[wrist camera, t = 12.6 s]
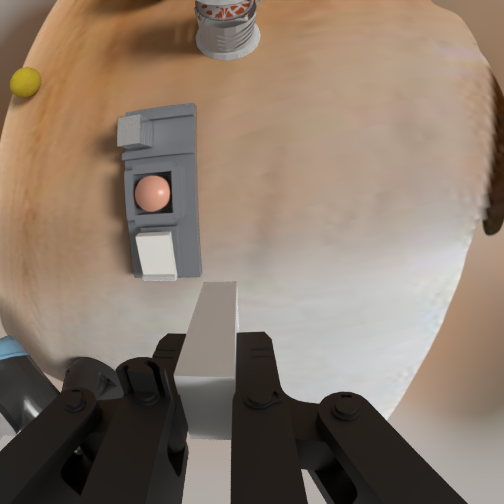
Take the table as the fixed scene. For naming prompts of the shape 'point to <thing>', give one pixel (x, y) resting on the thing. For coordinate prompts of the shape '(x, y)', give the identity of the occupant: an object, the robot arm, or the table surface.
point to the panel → (183, 186)
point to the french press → (227, 28)
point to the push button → (153, 193)
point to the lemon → (25, 82)
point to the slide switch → (135, 132)
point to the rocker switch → (157, 256)
